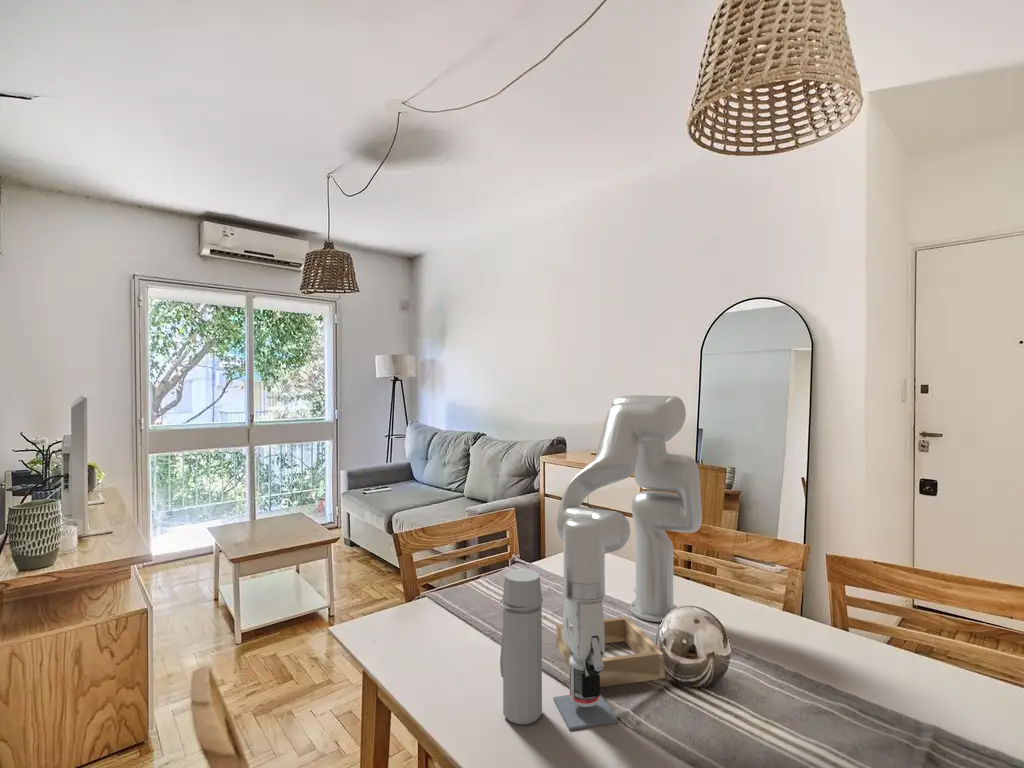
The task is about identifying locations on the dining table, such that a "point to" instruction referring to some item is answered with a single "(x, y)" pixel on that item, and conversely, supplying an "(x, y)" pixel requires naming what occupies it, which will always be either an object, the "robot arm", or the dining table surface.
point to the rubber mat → (584, 713)
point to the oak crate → (624, 667)
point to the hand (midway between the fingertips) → (584, 685)
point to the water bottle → (522, 646)
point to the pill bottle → (579, 683)
